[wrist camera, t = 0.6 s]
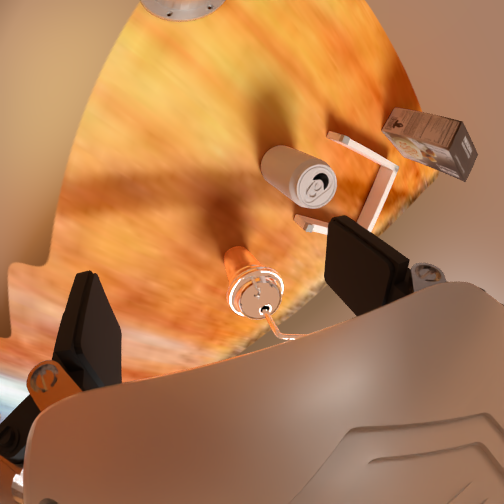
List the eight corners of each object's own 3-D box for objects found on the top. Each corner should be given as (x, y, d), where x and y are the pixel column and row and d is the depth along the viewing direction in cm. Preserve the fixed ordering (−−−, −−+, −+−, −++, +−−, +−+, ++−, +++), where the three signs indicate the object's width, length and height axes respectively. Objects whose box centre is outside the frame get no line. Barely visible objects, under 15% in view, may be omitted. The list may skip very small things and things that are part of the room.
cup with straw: (232, 225, 46) (284, 305, 29) (271, 251, 51) (330, 328, 34) (201, 266, 47) (234, 357, 31) (241, 287, 52) (286, 371, 36)
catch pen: (328, 130, 43) (344, 135, 39) (386, 162, 49) (402, 168, 46) (293, 220, 49) (305, 231, 45) (354, 236, 55) (367, 246, 52)
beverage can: (304, 160, 44) (348, 181, 34) (280, 191, 45) (317, 221, 36) (276, 136, 41) (317, 150, 31) (250, 169, 42) (283, 193, 32)
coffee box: (416, 134, 48) (479, 155, 35) (403, 157, 50) (465, 184, 37) (394, 105, 44) (463, 120, 30) (379, 130, 45) (448, 151, 32)
